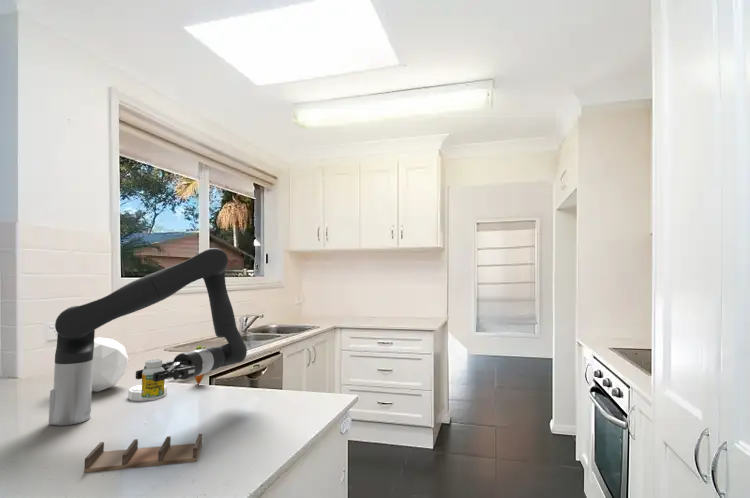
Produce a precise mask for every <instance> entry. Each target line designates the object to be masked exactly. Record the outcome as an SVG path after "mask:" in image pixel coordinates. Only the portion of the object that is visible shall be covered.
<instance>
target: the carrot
mask: <svg viewBox="0 0 750 498" xmlns="http://www.w3.org/2000/svg"><path fill="white" fill-rule="evenodd" d="M202 346H203V345H197V346H196V347H195V348H196V349H195V350H200V349H207V347H206V346H204V347H203V348H202ZM204 376H205V373H204V374H202V375H199V376H195V377H194V378H195V381H196V383H197V384H198V385H200V383H201V382H202V380H203V378H204Z"/></svg>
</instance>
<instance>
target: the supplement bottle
mask: <svg viewBox="0 0 750 498" xmlns="http://www.w3.org/2000/svg"><path fill="white" fill-rule="evenodd" d="M162 363H163V359H150V360H146V361H145V363H144V366H145V367H146V369H144V368H143V369H144V370H143V372H142V379H141V384H142V393H141V398H142V399H143V400H147V401H155V400H158V399H161V398H163V397H165V396H164V385H165V380H166V379H164V380H161V381H157V382H154V381H153V374H154V373H156V372H160V371H164V368H162V367H161V366H162Z"/></svg>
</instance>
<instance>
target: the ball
mask: <svg viewBox="0 0 750 498" xmlns="http://www.w3.org/2000/svg"><path fill="white" fill-rule="evenodd" d="M129 362H130V360H129V356H128V353H127V350H126V347H125V346H124V345H123V344H122V343H120V342H119V341H117V340H115V339H112V338H108V337H96V338H95V337H94V351H93V371H92V392H101V391H103V390H106V389H109V388H111V387H114V386H116V385H117V384H118V383H119V381H120V380H121V379H122V378H123V377H124V375H125V374H126V371H127V368H128V365H129Z"/></svg>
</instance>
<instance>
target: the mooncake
mask: <svg viewBox="0 0 750 498" xmlns="http://www.w3.org/2000/svg"><path fill="white" fill-rule="evenodd" d="M141 393H142V383H141V384H137V385H134V386H131V387H130V388H128V393H127V398H128V400H130V401H134V402H143V401H144V402H145V401H146V402H148V400H143V399H142V398H141ZM167 394H168V386H167V385H166V384H164V396H163V397H165V396H166V395H167Z"/></svg>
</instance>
